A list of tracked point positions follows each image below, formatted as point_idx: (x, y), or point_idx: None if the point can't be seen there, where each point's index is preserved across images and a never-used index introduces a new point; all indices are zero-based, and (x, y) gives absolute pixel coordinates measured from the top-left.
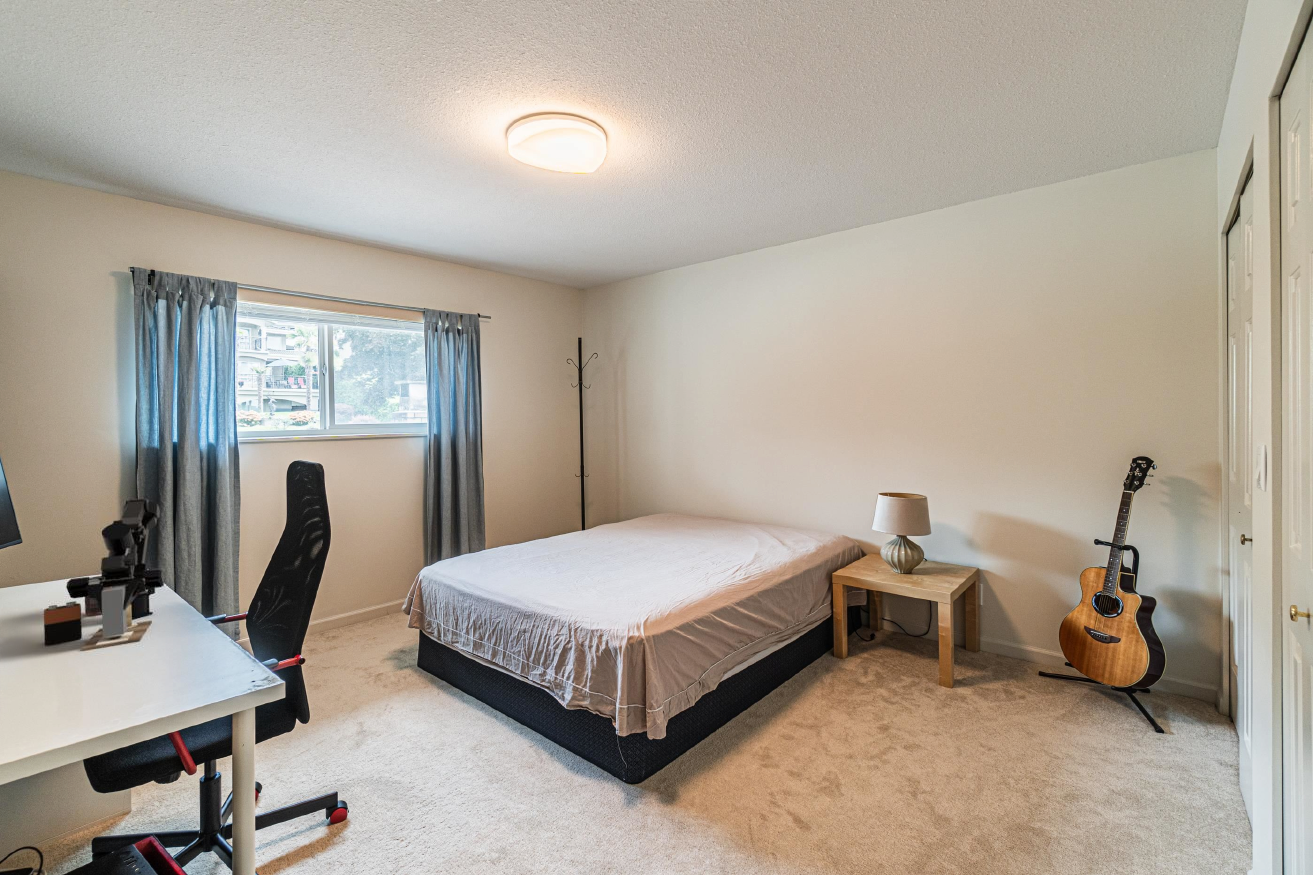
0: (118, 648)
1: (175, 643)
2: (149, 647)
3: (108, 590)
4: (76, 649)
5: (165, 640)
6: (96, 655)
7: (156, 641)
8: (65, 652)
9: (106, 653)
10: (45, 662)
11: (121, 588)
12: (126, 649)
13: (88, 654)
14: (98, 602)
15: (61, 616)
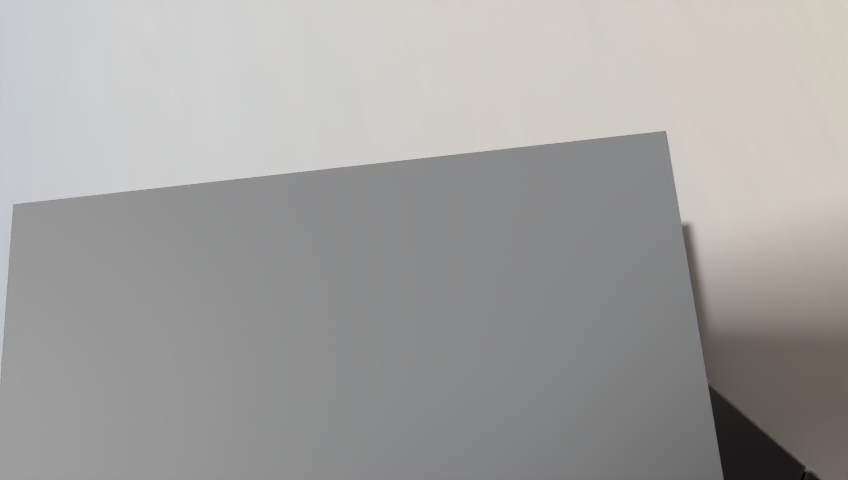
0: (381, 132)
1: (14, 40)
2: (166, 33)
3: (458, 244)
4: (741, 310)
5: (81, 167)
6: (494, 20)
7: (140, 177)
8: (805, 259)
9: (434, 36)
10: (840, 28)
11: (55, 347)
12: (314, 68)
13: (567, 82)
14: (722, 402)
15: None
